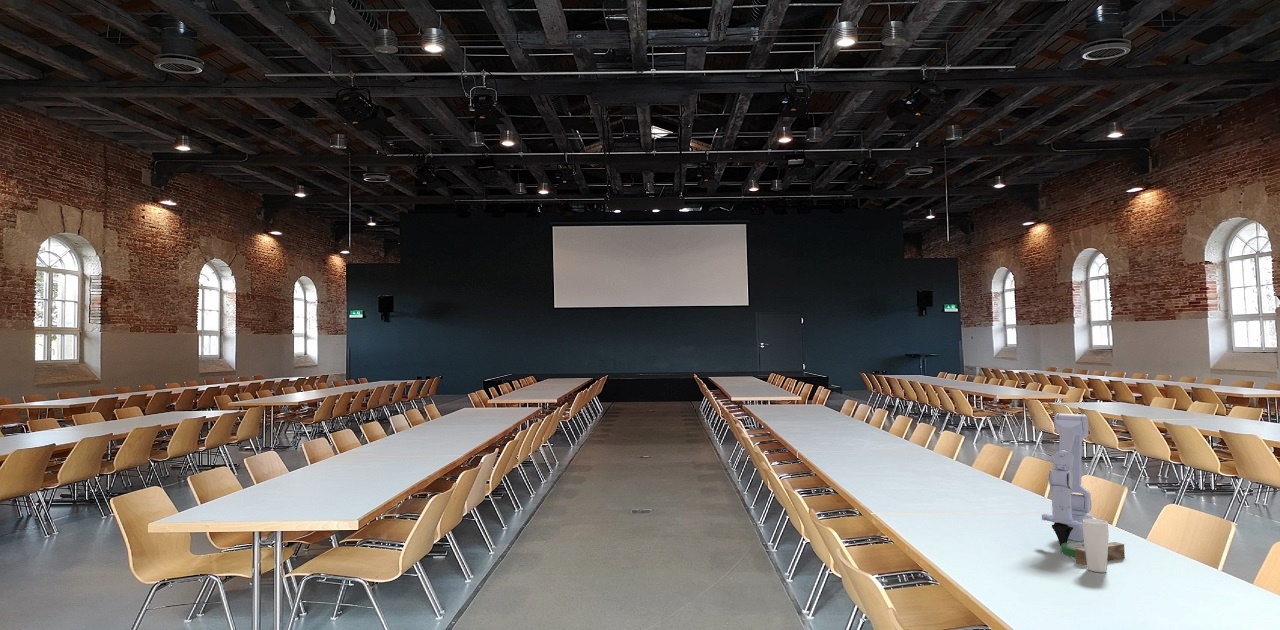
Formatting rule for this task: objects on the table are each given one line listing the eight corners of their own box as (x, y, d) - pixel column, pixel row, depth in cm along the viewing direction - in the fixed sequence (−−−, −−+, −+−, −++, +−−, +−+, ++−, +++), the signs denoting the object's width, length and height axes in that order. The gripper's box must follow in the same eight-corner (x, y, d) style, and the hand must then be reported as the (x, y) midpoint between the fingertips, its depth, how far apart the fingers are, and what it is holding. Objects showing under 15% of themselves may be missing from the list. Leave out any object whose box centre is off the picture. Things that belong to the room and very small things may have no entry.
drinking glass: (1106, 567, 224) (1104, 519, 225) (1113, 574, 218) (1110, 524, 218) (1081, 566, 227) (1079, 517, 227) (1087, 572, 220) (1085, 523, 221)
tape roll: (1054, 549, 244) (1054, 541, 244) (1087, 549, 244) (1087, 541, 244) (1073, 559, 233) (1073, 551, 233) (1108, 559, 233) (1107, 550, 233)
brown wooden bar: (1115, 555, 236) (1115, 541, 237) (1124, 558, 234) (1124, 544, 234) (1075, 562, 230) (1075, 548, 230) (1084, 565, 227) (1083, 550, 227)
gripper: (1034, 502, 250) (1036, 542, 250) (1072, 511, 237) (1074, 553, 236) (1049, 500, 253) (1051, 539, 252) (1088, 509, 239) (1089, 550, 239)
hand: (1063, 546), depth 244 cm, fingers closed
